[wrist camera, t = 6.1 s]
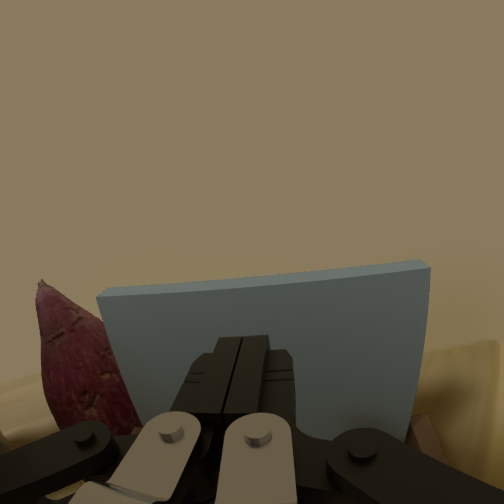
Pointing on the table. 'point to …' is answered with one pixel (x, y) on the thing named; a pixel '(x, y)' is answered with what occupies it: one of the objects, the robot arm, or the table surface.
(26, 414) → the table surface
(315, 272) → the panel
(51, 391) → the vegetable
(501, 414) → the table surface
